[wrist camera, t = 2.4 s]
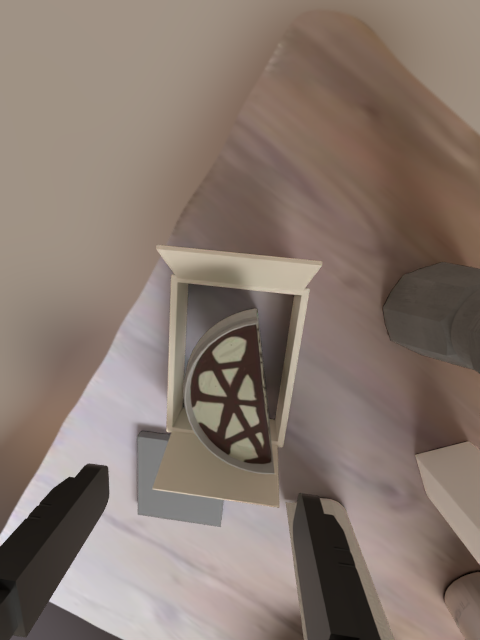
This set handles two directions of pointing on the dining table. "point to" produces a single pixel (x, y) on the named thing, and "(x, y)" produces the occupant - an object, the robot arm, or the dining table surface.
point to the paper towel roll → (366, 580)
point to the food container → (231, 394)
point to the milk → (455, 489)
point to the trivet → (169, 502)
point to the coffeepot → (437, 313)
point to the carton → (184, 446)
